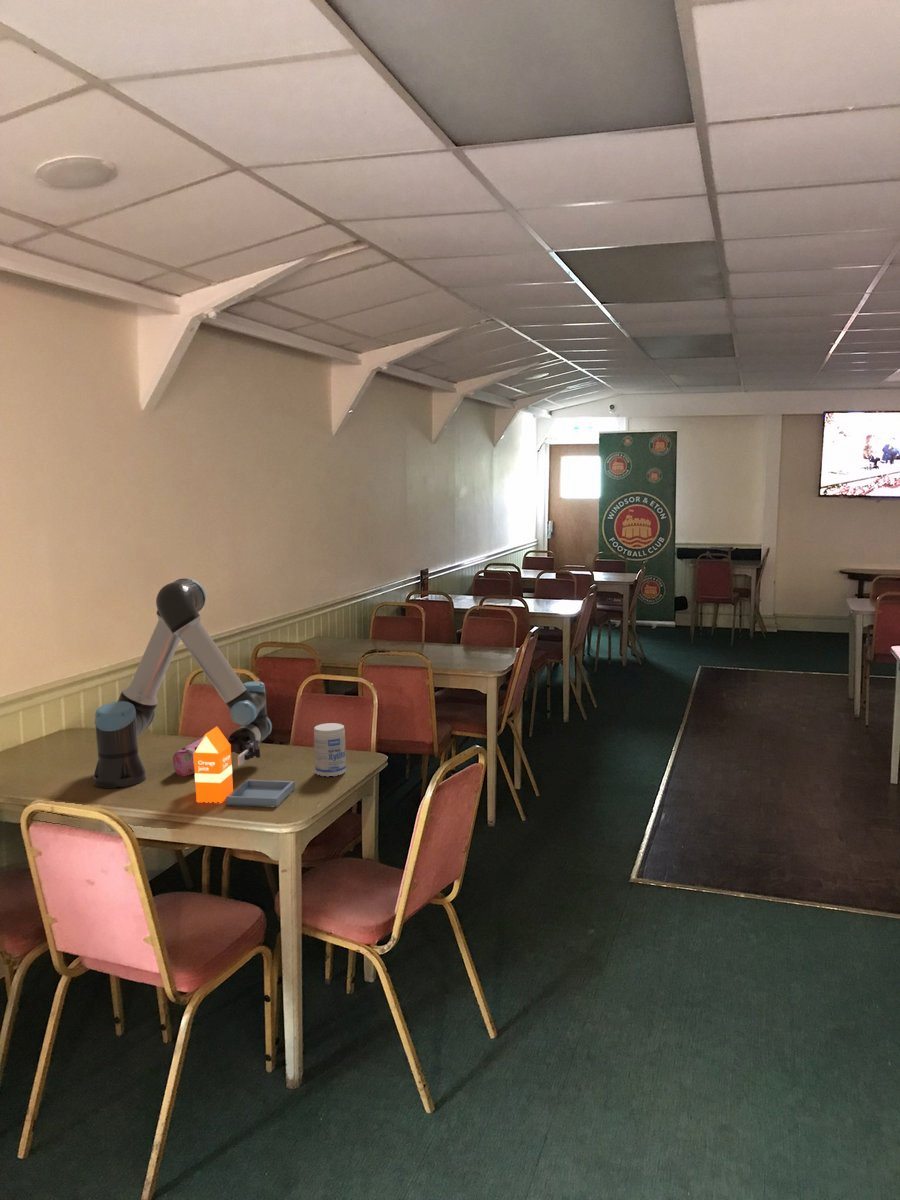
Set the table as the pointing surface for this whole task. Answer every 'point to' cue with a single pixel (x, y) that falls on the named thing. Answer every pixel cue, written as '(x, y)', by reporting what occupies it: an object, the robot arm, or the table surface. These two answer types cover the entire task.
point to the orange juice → (213, 768)
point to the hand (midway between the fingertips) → (216, 760)
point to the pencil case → (185, 759)
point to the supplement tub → (329, 749)
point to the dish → (260, 793)
